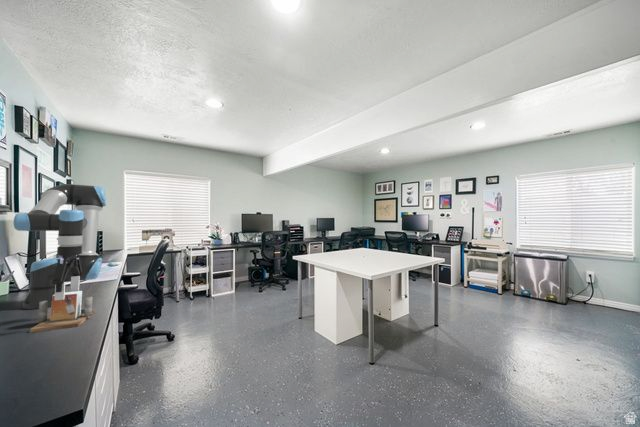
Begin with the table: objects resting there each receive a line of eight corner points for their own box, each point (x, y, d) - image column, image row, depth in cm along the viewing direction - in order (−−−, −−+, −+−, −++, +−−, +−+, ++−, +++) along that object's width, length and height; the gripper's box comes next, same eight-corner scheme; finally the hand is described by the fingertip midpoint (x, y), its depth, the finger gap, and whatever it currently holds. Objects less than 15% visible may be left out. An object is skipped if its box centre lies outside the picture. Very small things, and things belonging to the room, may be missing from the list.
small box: (49, 321, 102) (51, 295, 102) (56, 317, 107) (58, 292, 107) (75, 318, 105) (77, 293, 106) (81, 314, 110) (82, 290, 111)
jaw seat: (50, 317, 110) (51, 296, 111) (98, 311, 118) (99, 292, 118) (24, 333, 94) (26, 308, 95) (82, 325, 101) (83, 302, 102)
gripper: (71, 243, 117) (69, 288, 116) (41, 249, 95) (38, 305, 94) (92, 242, 120) (90, 287, 120) (67, 248, 98) (65, 302, 97)
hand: (67, 295), depth 107 cm, fingers open, 13 cm apart
